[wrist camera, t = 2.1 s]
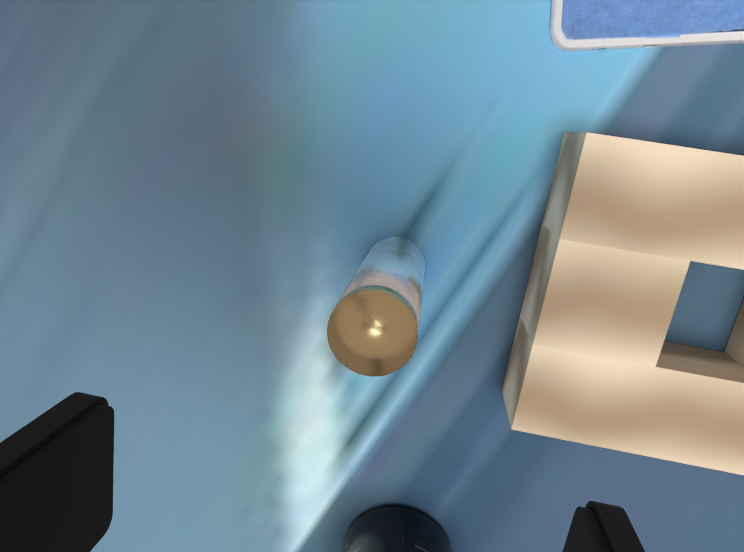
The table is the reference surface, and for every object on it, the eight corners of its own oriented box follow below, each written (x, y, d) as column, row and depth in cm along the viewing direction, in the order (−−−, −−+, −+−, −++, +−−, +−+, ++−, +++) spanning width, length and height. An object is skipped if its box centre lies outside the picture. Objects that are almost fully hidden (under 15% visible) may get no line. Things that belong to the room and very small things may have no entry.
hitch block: (564, 132, 25) (586, 132, 21) (917, 185, 24) (1009, 195, 20) (501, 390, 29) (511, 429, 25) (802, 447, 28) (860, 498, 24)
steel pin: (370, 231, 28) (333, 283, 18) (429, 241, 27) (424, 300, 18) (361, 288, 28) (322, 367, 19) (419, 299, 28) (409, 383, 19)
